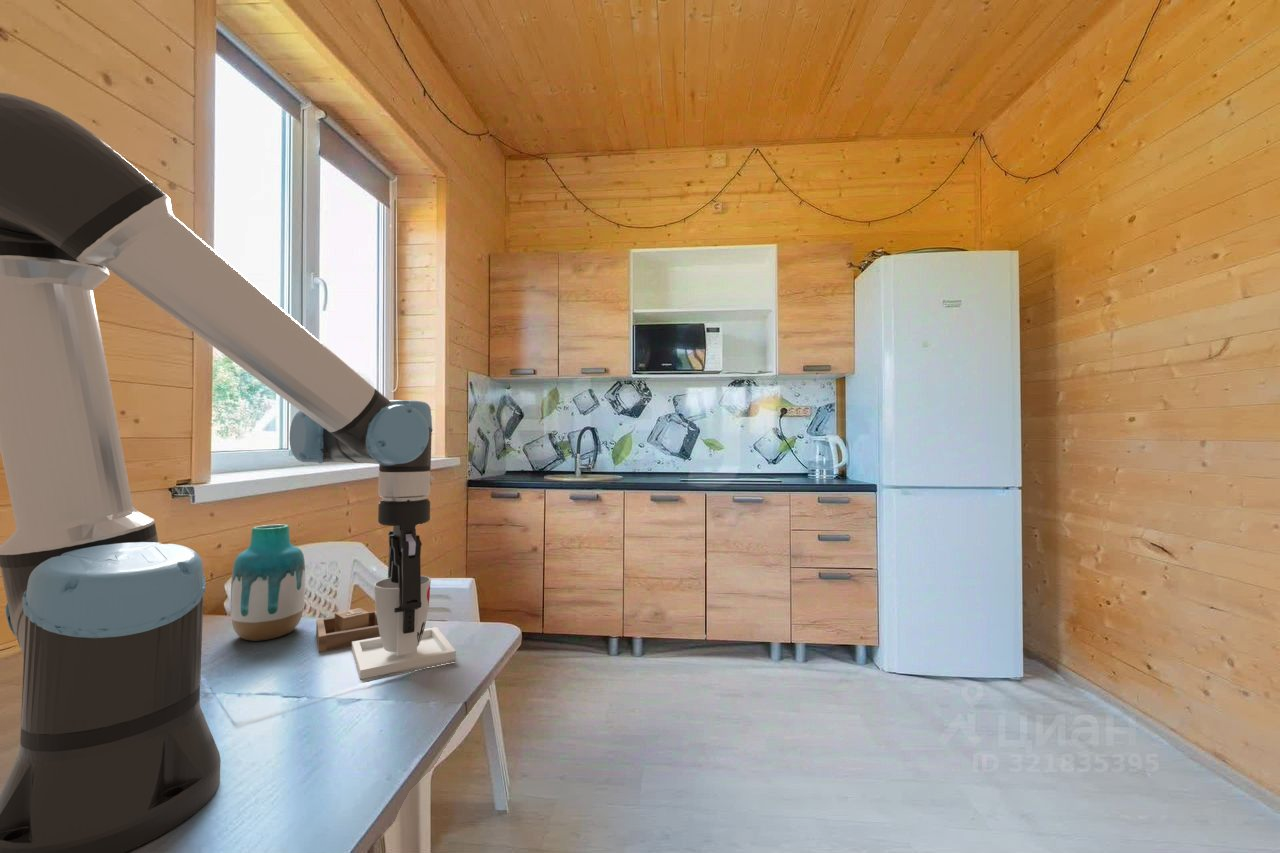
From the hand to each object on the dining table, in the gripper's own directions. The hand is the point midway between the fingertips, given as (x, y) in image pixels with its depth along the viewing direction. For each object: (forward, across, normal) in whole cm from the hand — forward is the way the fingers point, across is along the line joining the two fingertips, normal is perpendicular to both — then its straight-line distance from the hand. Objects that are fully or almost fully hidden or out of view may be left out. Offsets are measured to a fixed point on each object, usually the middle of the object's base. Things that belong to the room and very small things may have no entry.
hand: (402, 644), depth 84 cm
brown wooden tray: (+2, +13, +6) cm, 14 cm away
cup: (0, 0, 0) cm, 0 cm away
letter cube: (+2, +13, +6) cm, 14 cm away
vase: (+2, +22, +18) cm, 28 cm away
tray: (+2, 0, 0) cm, 2 cm away
